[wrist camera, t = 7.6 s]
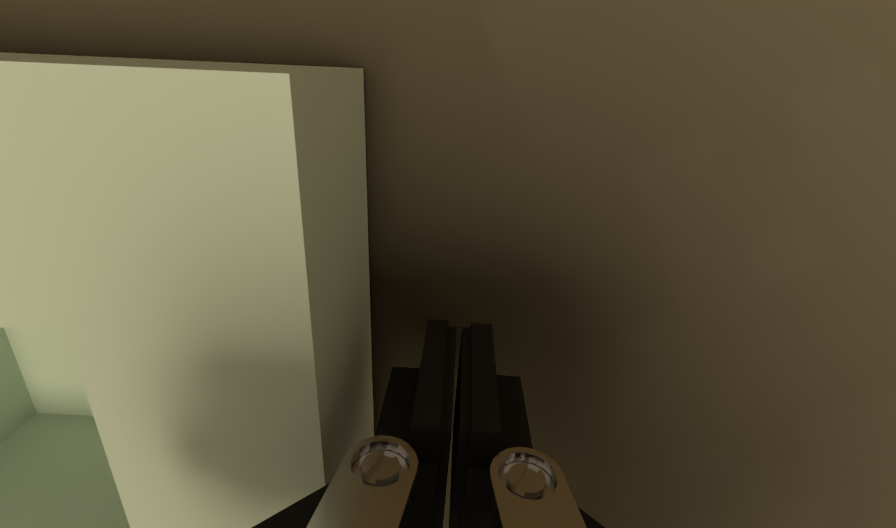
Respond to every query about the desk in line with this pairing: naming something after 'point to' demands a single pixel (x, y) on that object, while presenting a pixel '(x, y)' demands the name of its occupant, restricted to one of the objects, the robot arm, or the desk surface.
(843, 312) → the desk surface
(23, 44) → the desk surface
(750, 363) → the desk surface
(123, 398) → the socket block
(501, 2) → the desk surface
